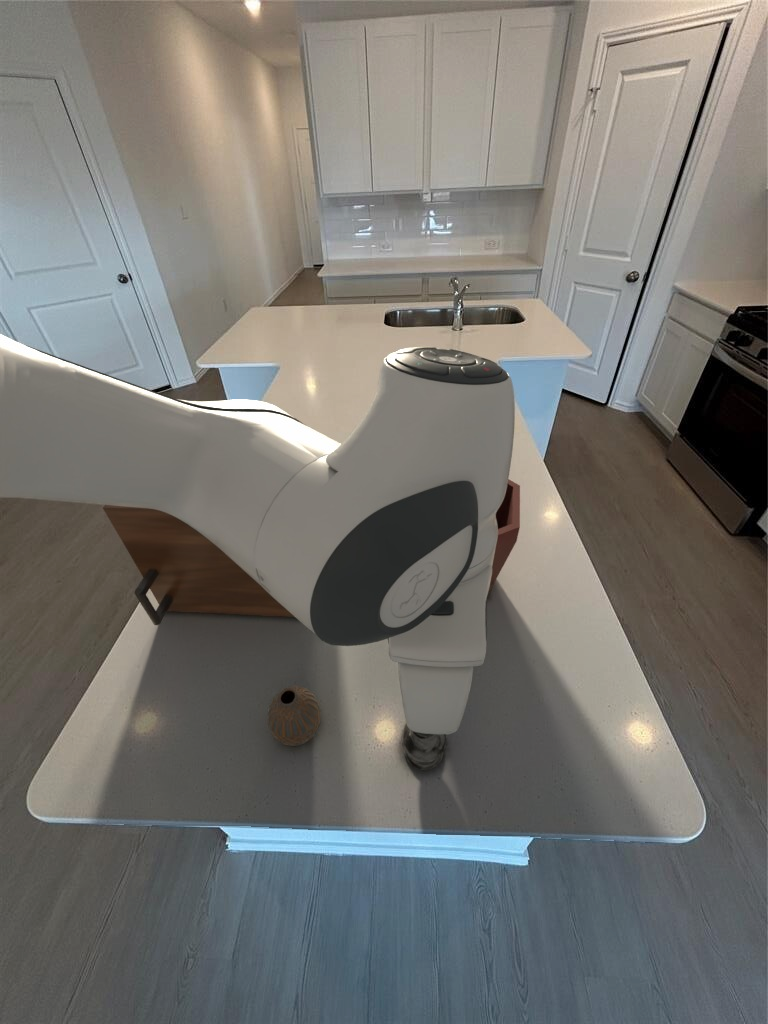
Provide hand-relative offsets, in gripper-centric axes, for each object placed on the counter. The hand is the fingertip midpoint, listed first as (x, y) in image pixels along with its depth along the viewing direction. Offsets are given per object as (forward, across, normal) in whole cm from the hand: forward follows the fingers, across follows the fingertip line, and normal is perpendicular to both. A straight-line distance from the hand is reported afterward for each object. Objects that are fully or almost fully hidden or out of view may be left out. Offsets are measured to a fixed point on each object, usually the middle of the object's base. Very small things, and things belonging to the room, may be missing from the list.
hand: (429, 653), depth 44 cm
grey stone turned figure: (+23, 0, 0) cm, 23 cm away
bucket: (+23, -31, +3) cm, 39 cm away
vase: (+23, -2, -17) cm, 29 cm away
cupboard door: (+23, -18, -33) cm, 44 cm away
